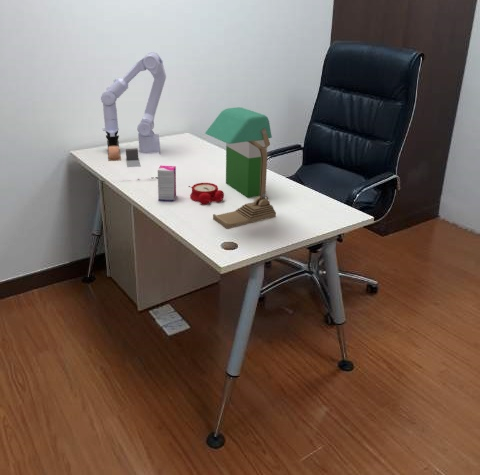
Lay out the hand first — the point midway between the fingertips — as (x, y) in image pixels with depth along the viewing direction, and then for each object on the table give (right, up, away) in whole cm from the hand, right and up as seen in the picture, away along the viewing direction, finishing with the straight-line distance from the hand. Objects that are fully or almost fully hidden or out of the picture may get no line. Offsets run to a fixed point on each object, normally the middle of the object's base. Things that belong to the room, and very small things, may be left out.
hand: (113, 148), depth 226 cm
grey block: (+12, -10, -15) cm, 22 cm away
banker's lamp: (+59, -35, -63) cm, 93 cm away
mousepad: (+28, -18, -29) cm, 44 cm away
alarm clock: (+46, -27, -48) cm, 72 cm away
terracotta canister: (+3, -6, -10) cm, 13 cm away
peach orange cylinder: (+2, -5, -6) cm, 8 cm away
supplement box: (+32, -27, -48) cm, 64 cm away
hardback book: (+60, -23, -38) cm, 74 cm away
